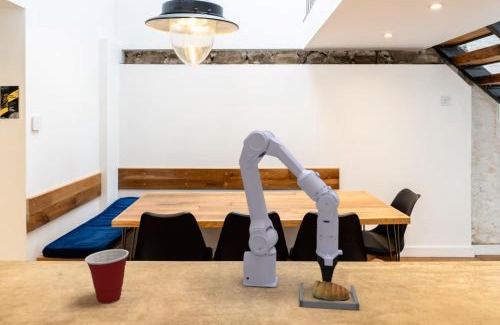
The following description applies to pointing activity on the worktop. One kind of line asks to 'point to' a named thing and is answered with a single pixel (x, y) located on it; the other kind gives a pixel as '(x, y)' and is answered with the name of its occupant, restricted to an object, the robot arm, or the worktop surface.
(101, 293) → the plastic cup
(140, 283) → the worktop surface
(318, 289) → the pastry
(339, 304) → the grey u-shaped bracket
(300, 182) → the robot arm
